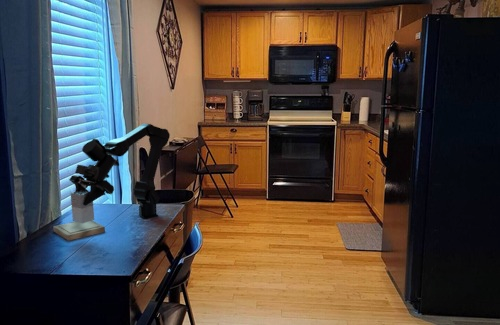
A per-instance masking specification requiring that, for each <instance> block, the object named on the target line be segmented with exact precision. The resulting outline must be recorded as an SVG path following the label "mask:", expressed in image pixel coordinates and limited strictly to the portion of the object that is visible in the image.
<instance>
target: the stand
mask: <svg viewBox="0 0 500 325" xmlns="http://www.w3.org/2000/svg"><path fill="white" fill-rule="evenodd" d="M52 227H53V233H56V234H57V235H58V236H60V237H61V238H63V239H65V240H67V241H68V242H69V241H72V240H77V239H81V238H85V237H88V236H89V237H90V236H93V235H97V234H102V233H105V232H106V227H105V226H104V225H102V224H100V223H98V222H96V221H95V220H92V221H89V222H86V223H83V224H82V223H79V222H75V221H72V222H69V223H68V222H67V223H63V224H57V225H54V226H52Z"/></svg>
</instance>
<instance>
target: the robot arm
mask: <svg viewBox="0 0 500 325" xmlns="http://www.w3.org/2000/svg"><path fill="white" fill-rule="evenodd" d="M146 136H147V137H148V142H149V146H150V147H149V151H148V156H147V158H146V159H147V160H146V162H145V166H144V170H143V174H142V177H141V179H140V180H139V181H137V180H136V182H135V184H134V188H133V195H134V197H135V200H136V203H139V206H138V216H140V217H141V218H143V219H150V218H154V217H158V216H159V214H158V213H157V204H158V203H160V198H161V197H160V196H159V195H158V194H157V193H156V186H155V185H156V184H155V181H154V180H155V177H156V174H157V170H158V165H159V163H160V162H159V161H160V157H161V154H162V150H163V149H164V148H165V147H166V145H168V142H169V140H170V136H171V134H170V132H169V130H168V129H166V128H162V127H158V126H155V125H154V124H151V123H145V122H143V123H142V124H140V125H139V126H137V127H136V128H135V129H133V130H131V131H130V132H128V133H127V134H125V135H124V136H122V137H118V138H114V139H110V140H108V141H107V142H106V143H105V144H102V143H101V142H100V141H99V139H98V138H92V139H91V140H90V141H88V142H87V143H85V144H83V146H82V148H81V149H82V150H81V151H82V153H83V154H84V155H86V156H87V157H88V158H89V159H90V160H91V161H93V162H95V164H89V165H82V164H77V165H76V168H75V172H74V173H75V174H74V175H73V174H72V175H71V177H69V181H70V183H72V184H73V185H74V186H75V190H74V192H77V191H81V190H84V191H89V190H88V189H87V188H88V187H90V191H89V194H88V196H87V198H86V199H85V201H84V203H83V205H85V206H86V205H88V204H89V203H91V202H92V201H93V202H94V201H96V200H97V199H99V198H101V197H102V196H105V195H106V194H108V195H112V194H113V193H114V192H115V186H114V185H112V184H111V183H110V181H108V180H107V179H109V178H110V175H109V173H110V171H111V170H112V168H113V167H114V166H115V167H119V166H120V162H119V159H118V158H115V157H123V156H124V155H126V153H127V152H128V151H129V149H130V147H131V146H132V145H134V144H135V143H137V142H138V141H140V140H142V139H143V138H145V137H146ZM77 174H79V175H77ZM106 178H107V179H106Z"/></svg>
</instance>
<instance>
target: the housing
mask: <svg viewBox="0 0 500 325" xmlns="http://www.w3.org/2000/svg"><path fill="white" fill-rule="evenodd" d="M89 192H90V191H89V190H88V191H84V190H81V191H77V192H75V191H73V192H70V201H71V214H72V222H79V223H82V224H83V223H86V222H89V221H92V220H93V221H95V210H94V201H92V202H91V203H89V204H88V205H86V206H85V205H83V203H84V201H85V199H86V198H87V196H88V194H89Z"/></svg>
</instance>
